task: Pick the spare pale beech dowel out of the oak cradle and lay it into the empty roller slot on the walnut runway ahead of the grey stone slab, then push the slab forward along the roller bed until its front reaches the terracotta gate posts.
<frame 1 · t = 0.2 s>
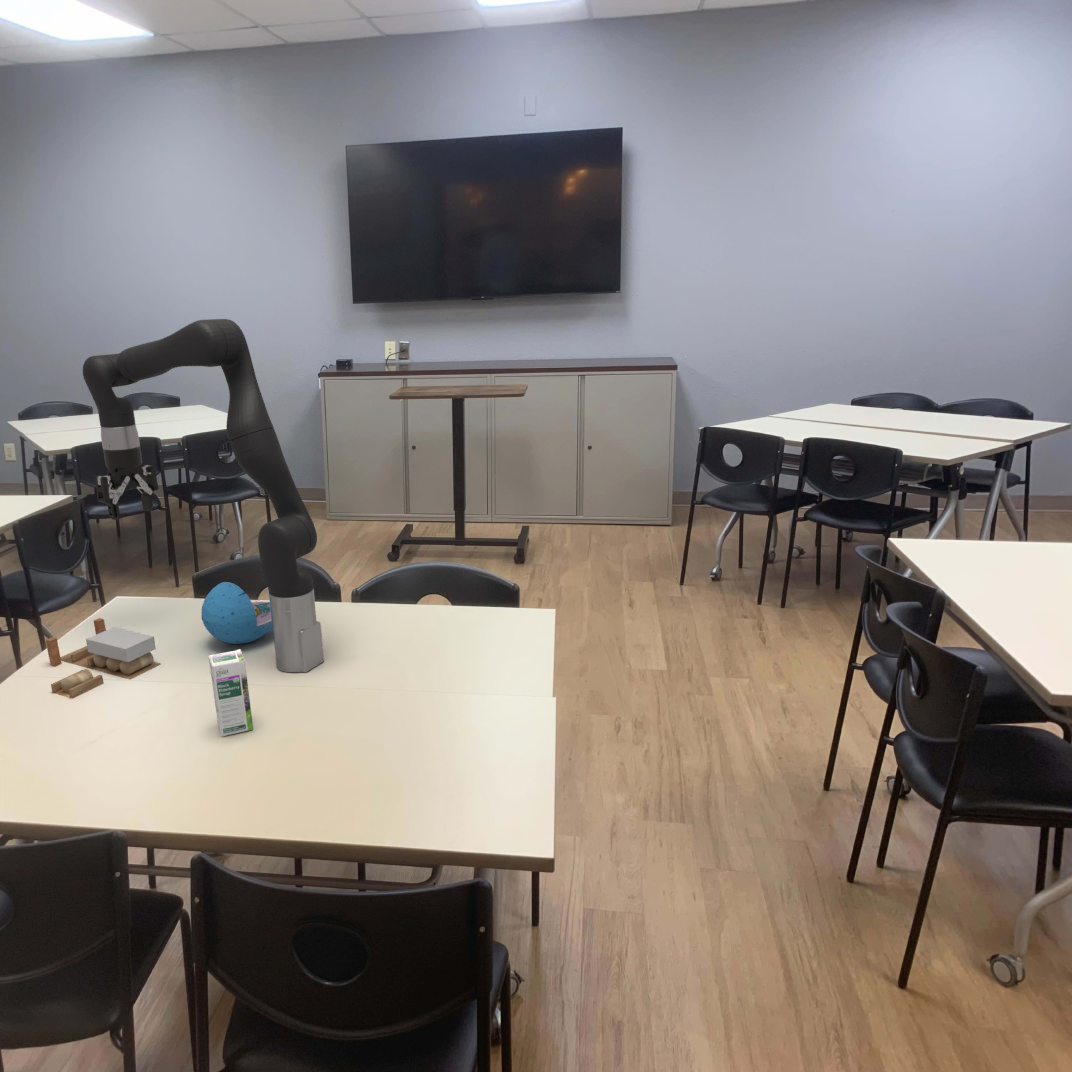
hand: (132, 514, 186), 29 cm above the table, fingers open, 8 cm apart
slab: (121, 644, 172), point 6 cm above the table, slide at 0.0 cm
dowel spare: (78, 687, 164), point 1 cm above the table, touching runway
syrup box: (235, 727, 152), on the table
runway: (109, 665, 176), on the table
educational model: (245, 639, 189), on the table
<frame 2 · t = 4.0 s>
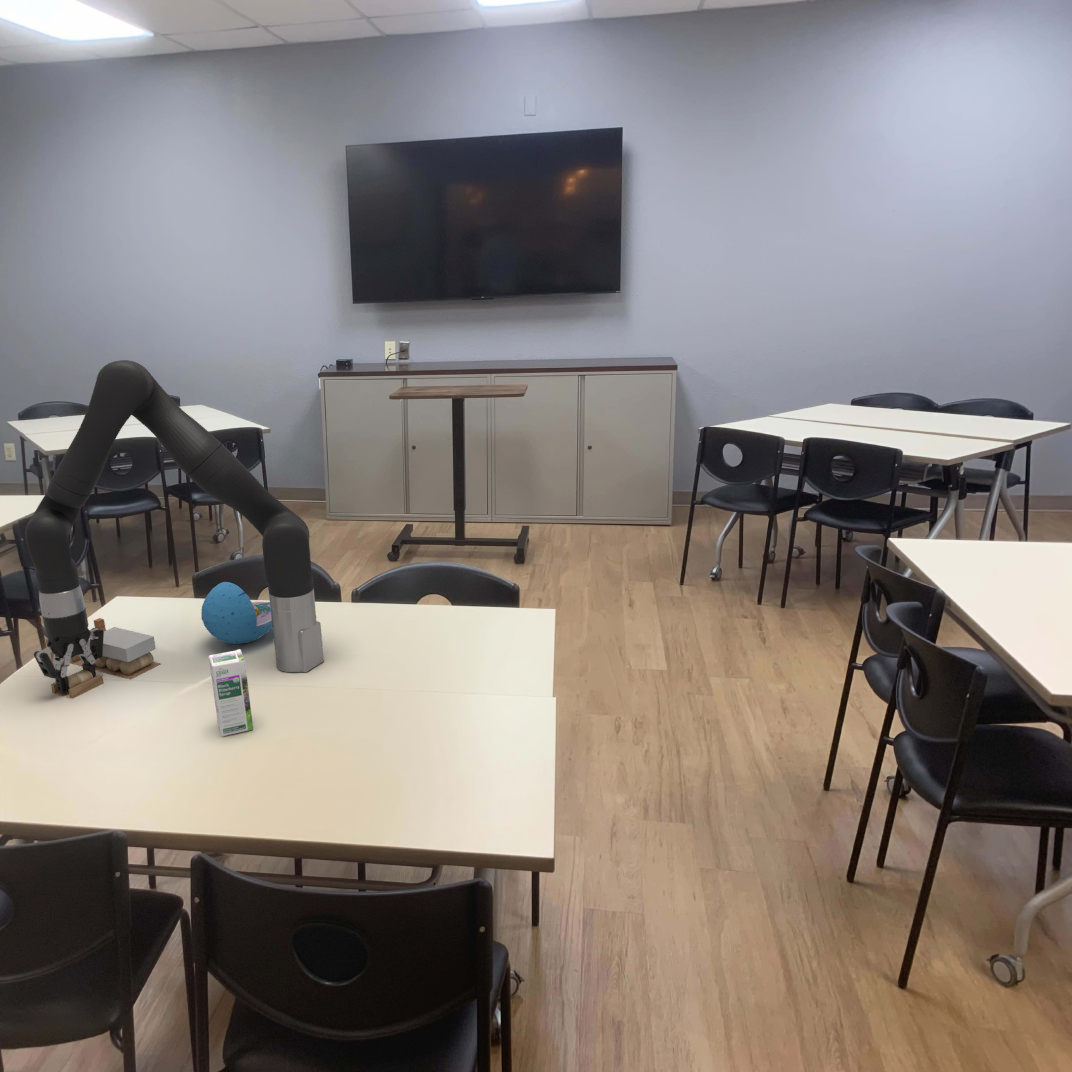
hand: (78, 686, 164), 1 cm above the table, fingers closed on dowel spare, 5 cm apart
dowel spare: (78, 687, 164), point 1 cm above the table, touching gripper, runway
everything else where it was.
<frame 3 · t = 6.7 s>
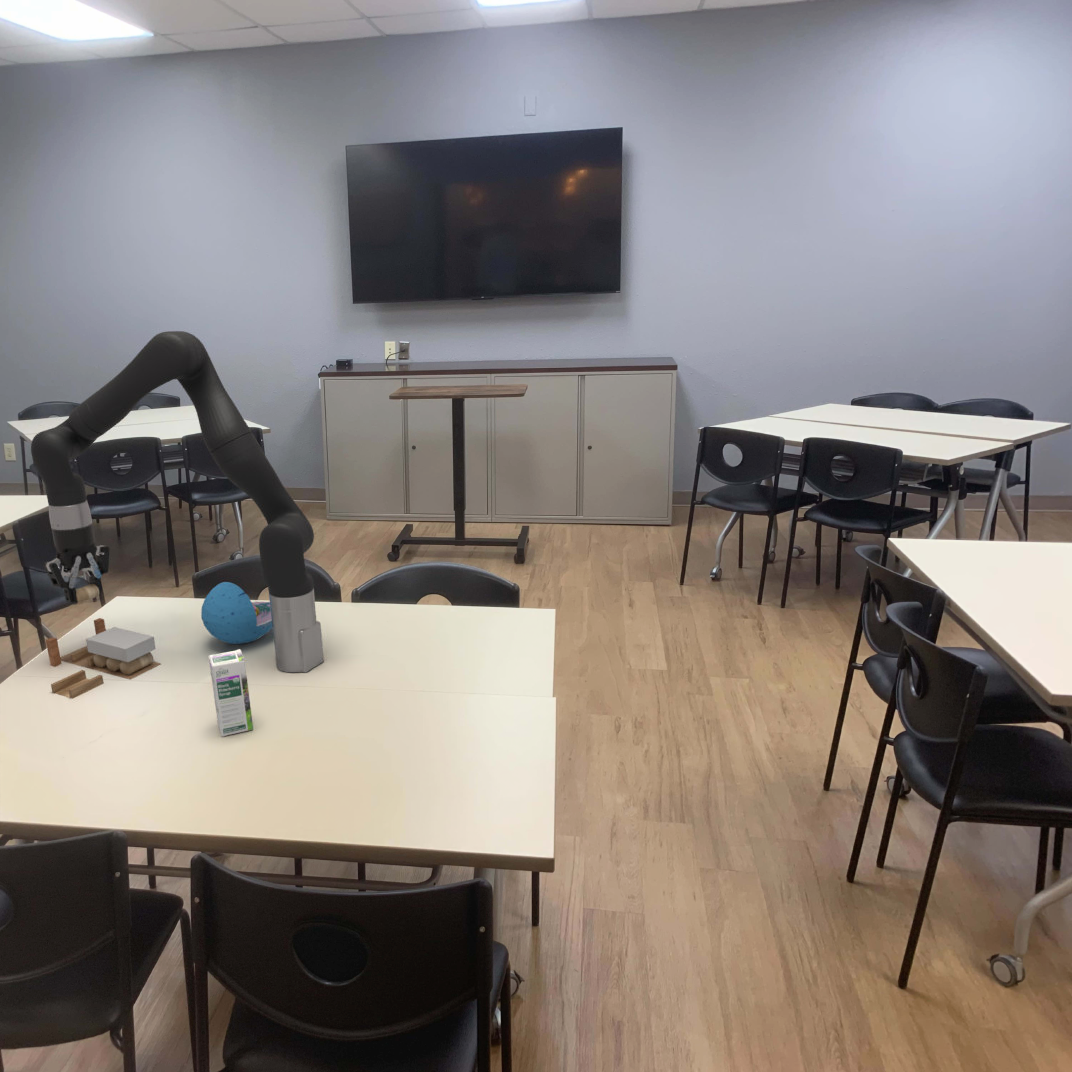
hand: (85, 598, 173), 15 cm above the table, fingers closed on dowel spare, 5 cm apart
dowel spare: (85, 600, 173), point 15 cm above the table, touching gripper
everything else where it was.
when the fingers open (2 cm above the table, at t = 9.4 s): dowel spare stays where it is, resting on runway.
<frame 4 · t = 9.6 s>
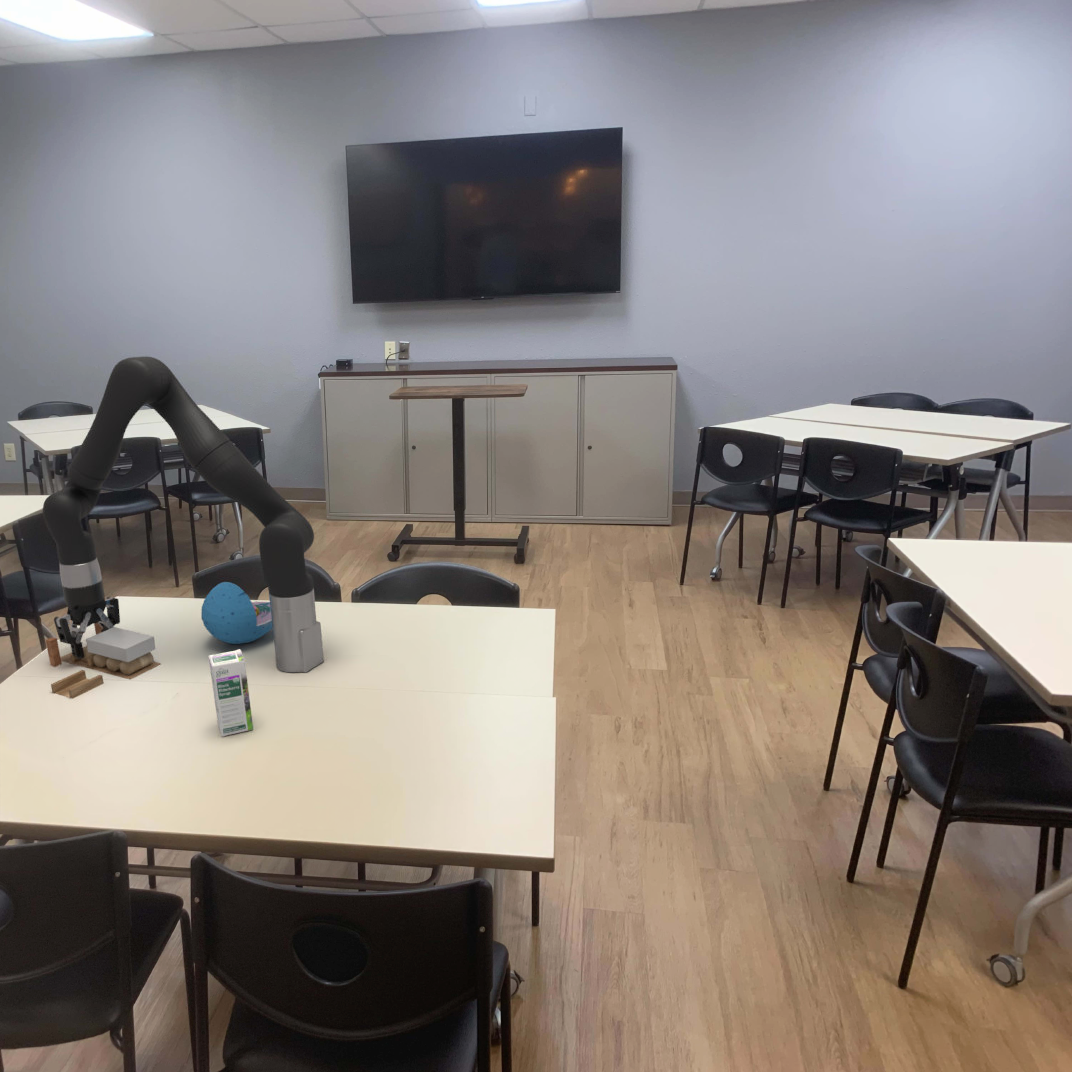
hand: (94, 651, 177), 3 cm above the table, fingers open, 6 cm apart
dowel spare: (95, 658, 177), point 1 cm above the table, touching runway
everything else where it was.
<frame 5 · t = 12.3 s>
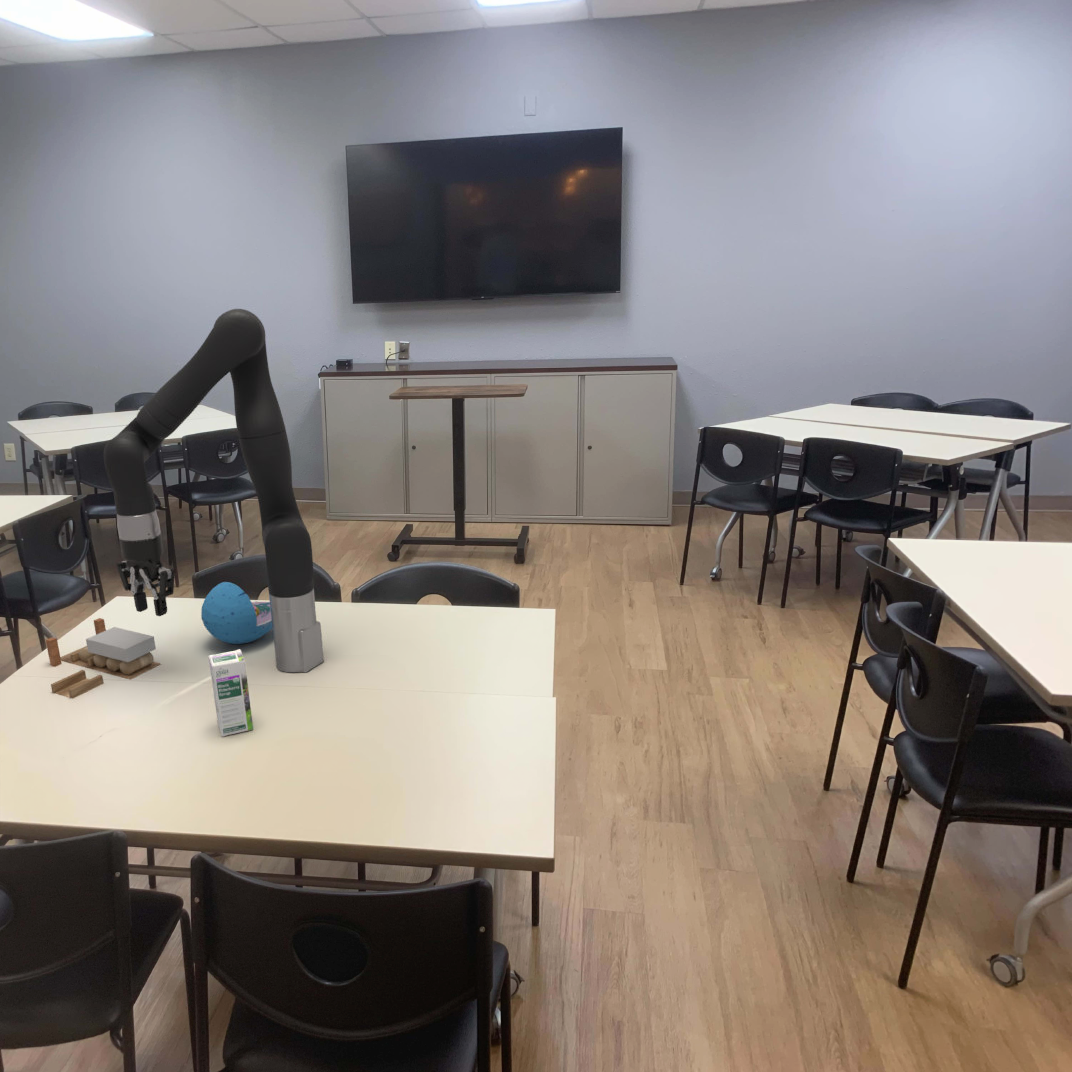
hand: (152, 612, 165), 15 cm above the table, fingers open, 5 cm apart
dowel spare: (95, 658, 177), point 1 cm above the table, tilted 11°, touching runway
everything else where it was.
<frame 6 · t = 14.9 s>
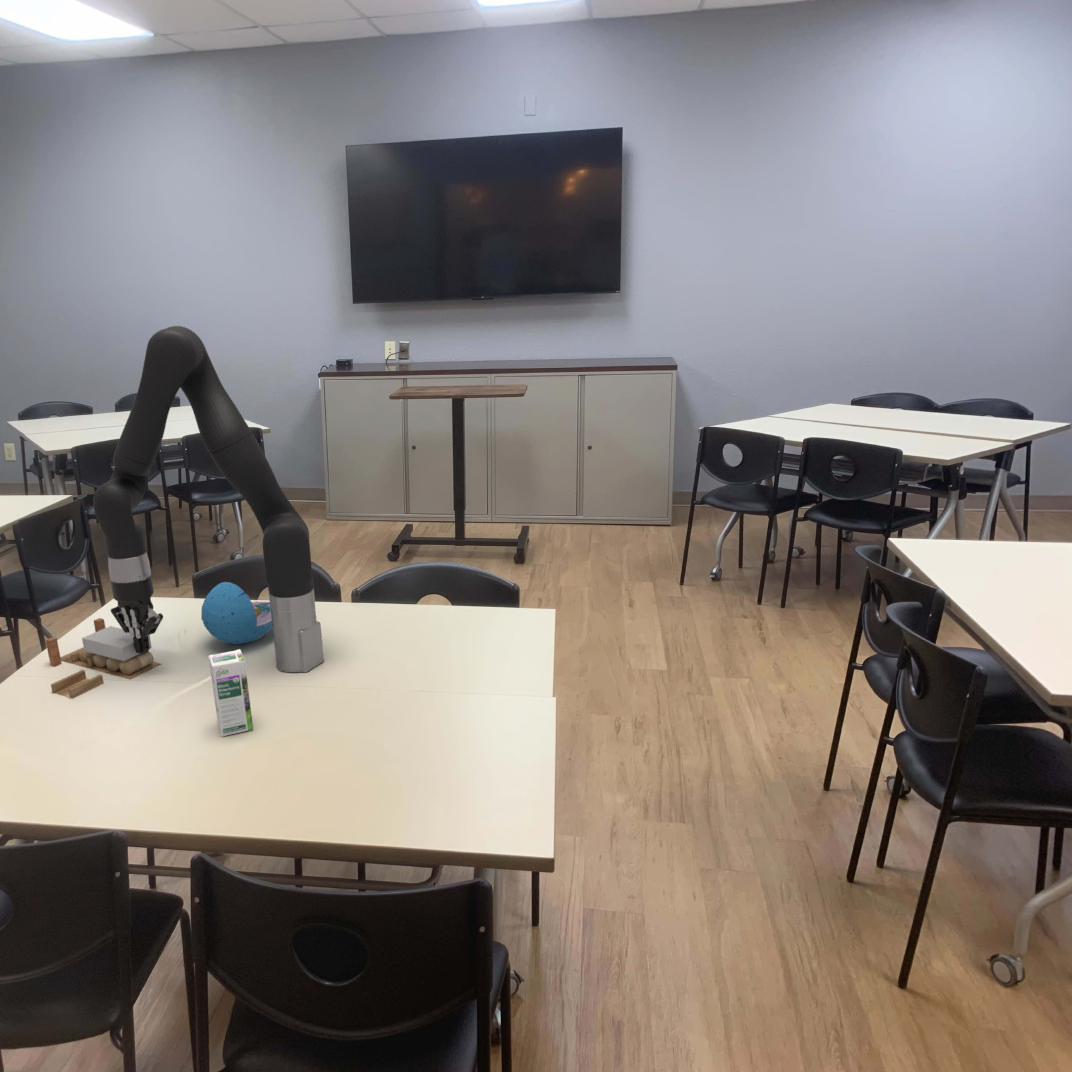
hand: (142, 652, 170), 6 cm above the table, fingers closed
slab: (117, 643, 173), point 6 cm above the table, slide at 1.2 cm, touching gripper
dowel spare: (95, 657, 177), point 1 cm above the table, tilted 19°, touching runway
everything else where it was.
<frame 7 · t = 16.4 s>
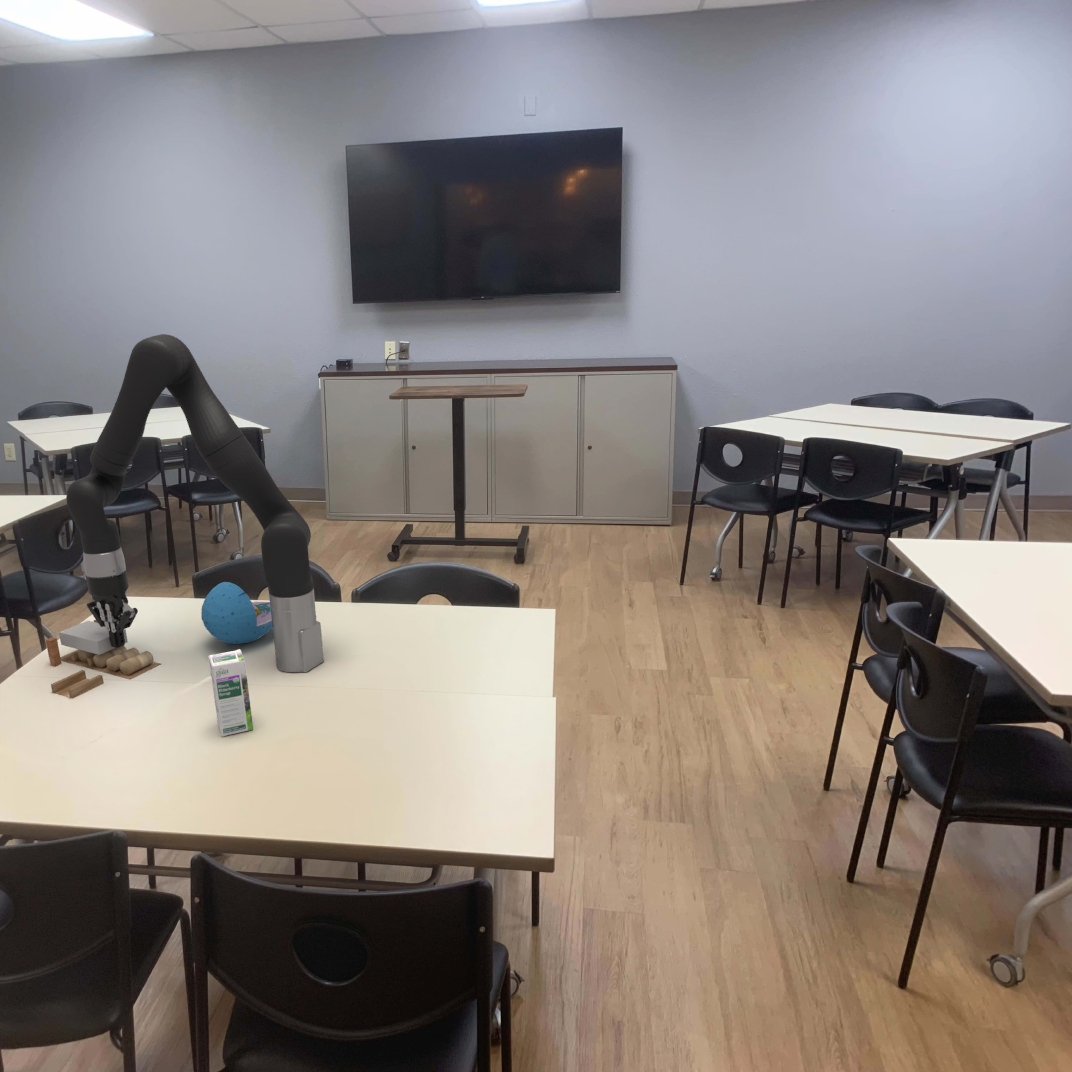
hand: (118, 646, 173), 6 cm above the table, fingers closed
slab: (93, 637, 176), point 6 cm above the table, slide at 8.5 cm, touching gripper
everything else where it was.
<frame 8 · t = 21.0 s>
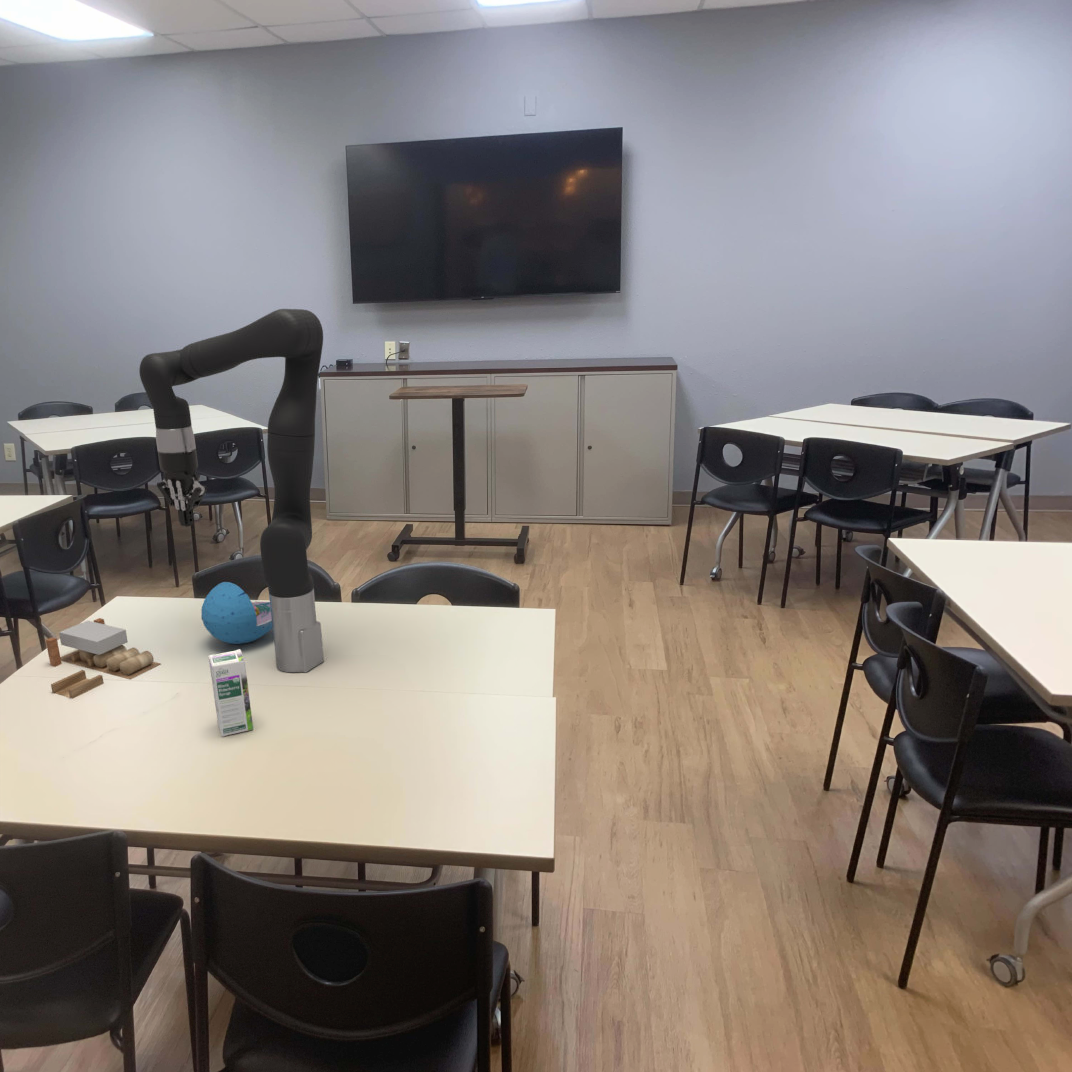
hand: (187, 525, 177), 29 cm above the table, fingers closed
slab: (93, 637, 176), point 6 cm above the table, slide at 8.5 cm
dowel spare: (95, 658, 177), point 1 cm above the table, touching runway
everything else where it was.
at the end: slab slide at 8.5 cm; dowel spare 0.0 cm from the target spot on the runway, point 1.0 cm above the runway's base; the gripper is holding nothing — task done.
